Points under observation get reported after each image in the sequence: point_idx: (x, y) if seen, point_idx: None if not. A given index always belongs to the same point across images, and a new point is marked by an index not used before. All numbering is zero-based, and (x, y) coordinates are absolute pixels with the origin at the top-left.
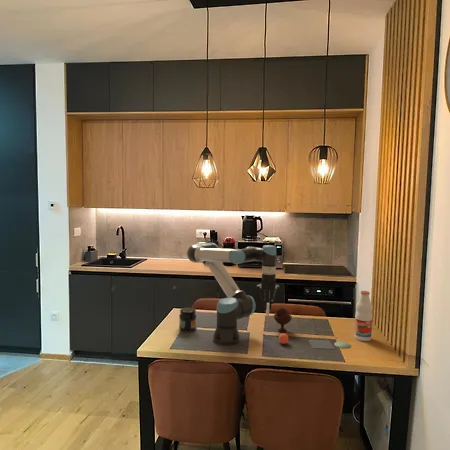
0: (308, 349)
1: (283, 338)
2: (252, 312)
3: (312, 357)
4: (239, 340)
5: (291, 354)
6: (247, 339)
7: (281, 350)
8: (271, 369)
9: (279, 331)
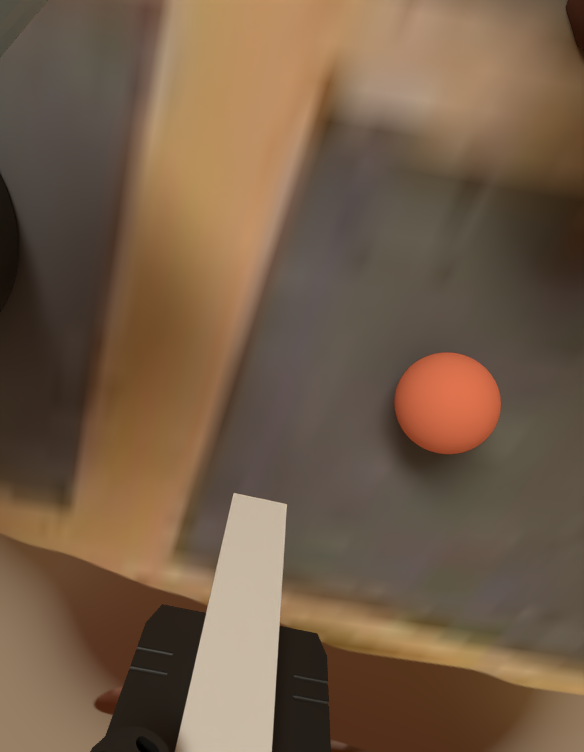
0: (574, 521)
1: (427, 449)
2: (29, 21)
3: (513, 627)
4: (6, 285)
5: (393, 570)
6: (105, 224)
7: (350, 503)
8: None
9: (575, 24)
